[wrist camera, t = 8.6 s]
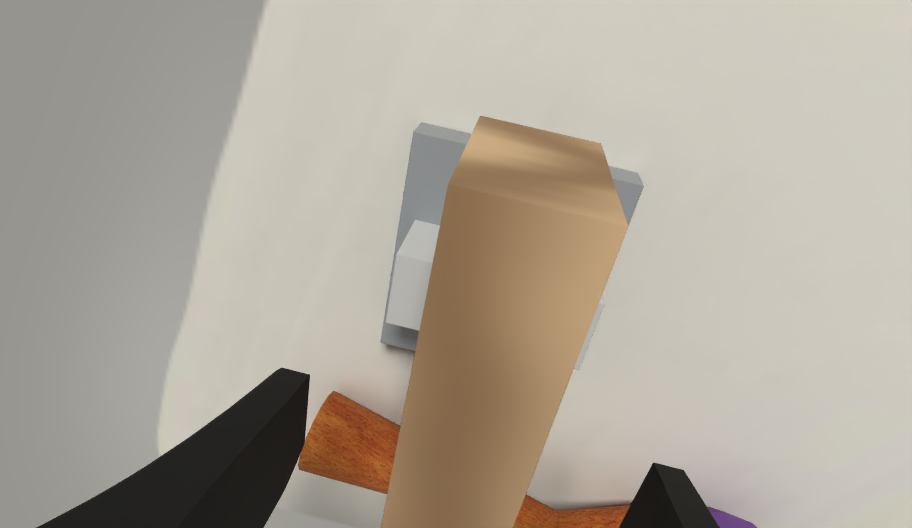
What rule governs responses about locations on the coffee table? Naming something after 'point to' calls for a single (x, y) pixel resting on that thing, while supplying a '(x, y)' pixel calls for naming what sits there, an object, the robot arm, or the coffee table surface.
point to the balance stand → (421, 222)
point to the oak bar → (502, 322)
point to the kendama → (372, 456)
